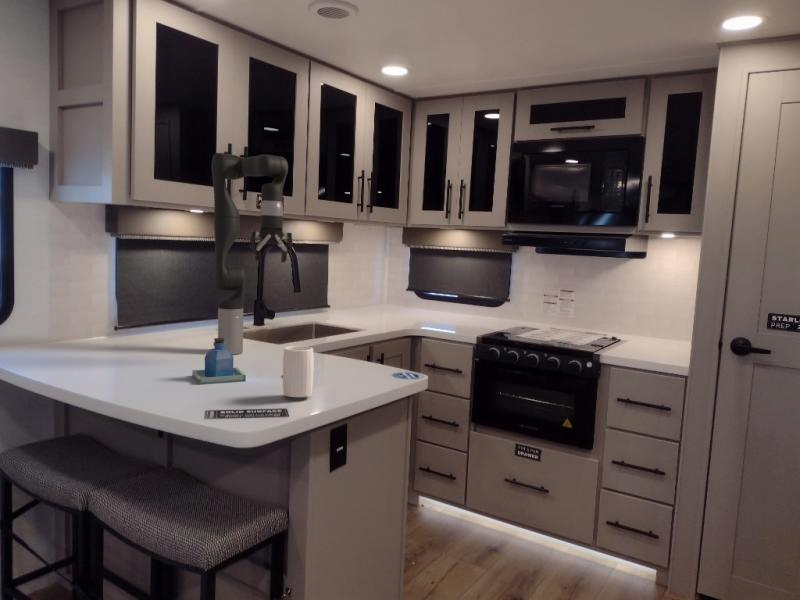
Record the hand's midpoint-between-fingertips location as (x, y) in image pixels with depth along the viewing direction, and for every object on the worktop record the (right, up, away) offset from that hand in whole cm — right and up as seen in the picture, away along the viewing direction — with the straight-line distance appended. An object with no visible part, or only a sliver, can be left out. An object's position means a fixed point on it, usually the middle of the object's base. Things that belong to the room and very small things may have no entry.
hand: (270, 262), depth 206 cm
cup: (+16, -41, -38) cm, 58 cm away
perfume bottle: (-12, -37, -19) cm, 44 cm away
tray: (-12, -38, -19) cm, 44 cm away
